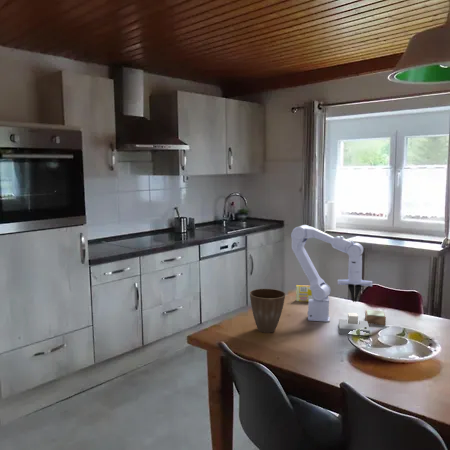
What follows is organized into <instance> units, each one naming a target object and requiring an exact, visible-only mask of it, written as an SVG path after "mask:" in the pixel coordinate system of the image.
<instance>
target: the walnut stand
mask: <svg viewBox="0 0 450 450" xmlns="http://www.w3.org/2000/svg"><path fill="white" fill-rule="evenodd" d="M364 314H365V315H364V319H365V320H364V321H368V325H378V326H379V325H380V326H386V323H387V322H386V319H387V316H386V314H385V312H384V310H373V309H366V310H365V311H364Z"/></svg>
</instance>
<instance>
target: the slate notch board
mask: <svg viewBox="0 0 450 450" xmlns="http://www.w3.org/2000/svg"><path fill="white" fill-rule="evenodd" d="M369 325H370V324H368V321H366V320H358V324H348V319H344V318H342V319H341V318H339V319H338V330H339V331H338V333H339V335H347V334H348V333H349V332H350V331H353V330H356V329H359V328H364V327H369V328H367V329H361V330H360V331H363V332H366V333H369V334H370V333H371V329H370V326H369ZM347 336H348V335H347Z"/></svg>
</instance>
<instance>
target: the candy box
mask: <svg viewBox="0 0 450 450" xmlns="http://www.w3.org/2000/svg"><path fill="white" fill-rule="evenodd" d="M295 287H296V288H295V292H296V293H295V296H296V297H295V301H296V302H309V299H313V297H312V291H311V289H310V285H307V284H306V285H298V284H296V285H295Z"/></svg>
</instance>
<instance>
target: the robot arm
mask: <svg viewBox="0 0 450 450" xmlns="http://www.w3.org/2000/svg"><path fill="white" fill-rule="evenodd" d="M290 237H291V250H292V252H293V254H294V255H295V257H296V259H297V262H298V264H299V265H300V266H301V269H302V270H303V272H304V274H305V277H306V278H307V280H308V282H309V286H310V289H311V291H312V297H313V299H309V301H308V303H307V304H308V310H307V321H315V322H325V323H326V322H328V323H330V318H331V317H330V298H329V296H330V294H331V287H330V285H328V283H326V282H325V279H323V278H322V277H321V276H320V275H319V272H318V271H317V269H316V267H315V264H314V262H313V261H312V260H311V258H310V256H309V253H308V251H307V250H306V248H305V245H306V243H307V240H308V239H313V238H315V239H317V240H320V241H322V242H325V243H327V244H331V247H332V248H333V249H335V250H337V251H340V252H342V253H344V254H347V256H348V265H347V266H348V268H347V269H348V273H347V275H348V276H347V279H337V286H340V285H342V286H343V285H345V286H347V287H348V290H349V291H350V295H351V297H352V300H351V301H352V302H353V303H354V302H355V303H356V302H358V301H357V300H358V297H359V294H360V292H361V290H362V286H365V287H366V286H367V287H373V280H365V279H363V278H362V277H363V253H364V246H363V245H362V244H361V243H359V242H355V241H353V240H349V239H346V238H345V236H343V235H340V236H339V235H337V236H332V235H331V234H328V233H326V232H324V231H322V230H320V229H318V228H315V227H313V226H309V225H307V224H302V225H299V226H296V227H294V228H293V229H292V232H291V233H290Z"/></svg>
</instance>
